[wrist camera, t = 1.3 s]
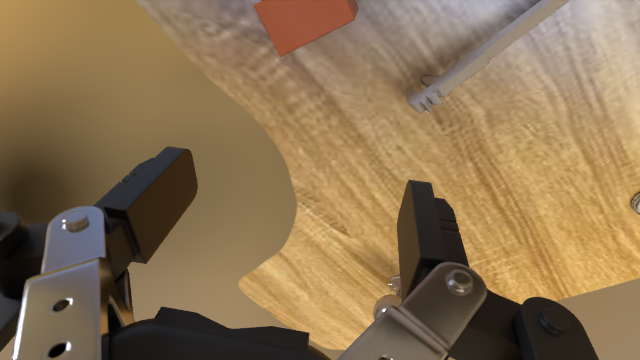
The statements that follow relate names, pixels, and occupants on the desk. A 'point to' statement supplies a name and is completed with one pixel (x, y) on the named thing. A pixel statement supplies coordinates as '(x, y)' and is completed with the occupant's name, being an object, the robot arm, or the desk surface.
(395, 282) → the robot toy
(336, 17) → the block
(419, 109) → the caliper
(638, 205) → the ridged bottle cap
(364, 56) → the desk surface
